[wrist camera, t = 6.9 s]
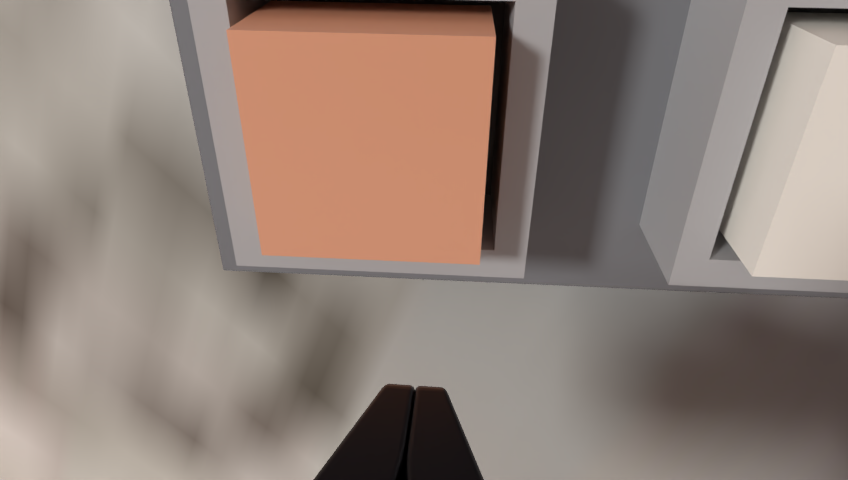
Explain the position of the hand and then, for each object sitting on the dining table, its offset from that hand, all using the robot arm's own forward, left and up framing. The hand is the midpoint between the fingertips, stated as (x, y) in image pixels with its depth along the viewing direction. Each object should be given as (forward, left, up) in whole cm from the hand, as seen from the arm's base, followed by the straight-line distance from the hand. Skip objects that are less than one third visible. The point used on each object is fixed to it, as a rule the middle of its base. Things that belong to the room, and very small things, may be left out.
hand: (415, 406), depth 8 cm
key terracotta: (+1, +1, -8) cm, 9 cm away
